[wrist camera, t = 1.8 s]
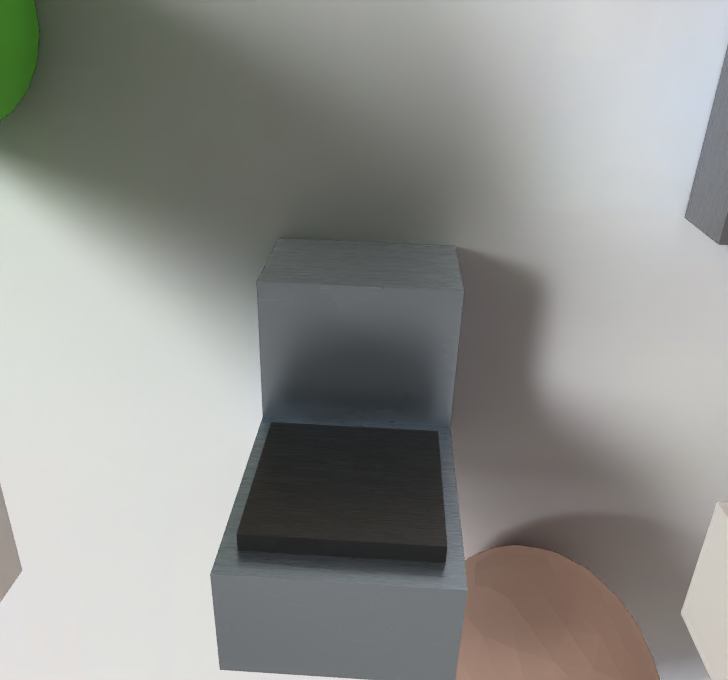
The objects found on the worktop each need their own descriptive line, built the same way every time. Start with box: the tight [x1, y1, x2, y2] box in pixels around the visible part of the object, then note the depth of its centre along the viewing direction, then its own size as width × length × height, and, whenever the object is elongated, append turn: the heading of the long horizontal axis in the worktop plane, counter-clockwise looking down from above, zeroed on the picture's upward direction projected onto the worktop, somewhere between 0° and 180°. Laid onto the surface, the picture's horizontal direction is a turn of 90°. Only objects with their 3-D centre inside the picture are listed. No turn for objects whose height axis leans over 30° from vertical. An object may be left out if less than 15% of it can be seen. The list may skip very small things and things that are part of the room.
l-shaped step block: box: [210, 238, 468, 680], centre depth 15 cm, size 6×4×8 cm
